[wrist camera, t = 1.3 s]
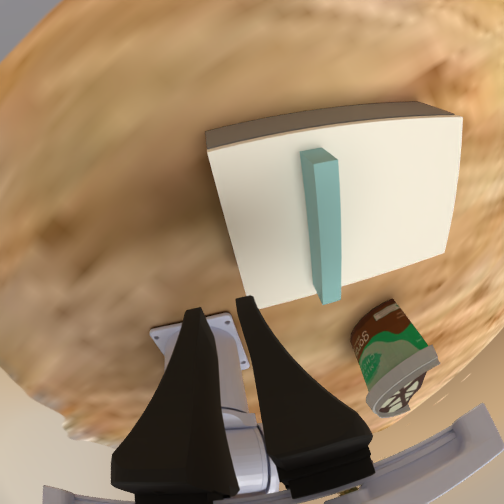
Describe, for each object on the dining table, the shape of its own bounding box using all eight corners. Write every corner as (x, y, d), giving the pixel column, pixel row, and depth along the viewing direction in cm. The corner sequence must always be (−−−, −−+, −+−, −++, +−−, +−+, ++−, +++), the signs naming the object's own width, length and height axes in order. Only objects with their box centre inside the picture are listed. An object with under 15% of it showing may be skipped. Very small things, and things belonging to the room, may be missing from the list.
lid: (440, 249, 21) (458, 267, 19) (249, 306, 20) (255, 333, 18) (457, 115, 14) (484, 126, 12) (206, 149, 14) (208, 165, 12)
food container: (344, 305, 29) (385, 386, 21) (394, 289, 29) (442, 360, 21) (338, 366, 36) (364, 430, 28) (379, 352, 37) (409, 411, 28)
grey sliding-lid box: (412, 221, 24) (438, 247, 21) (240, 266, 24) (248, 303, 21) (417, 101, 18) (454, 114, 14) (205, 131, 17) (206, 148, 14)
